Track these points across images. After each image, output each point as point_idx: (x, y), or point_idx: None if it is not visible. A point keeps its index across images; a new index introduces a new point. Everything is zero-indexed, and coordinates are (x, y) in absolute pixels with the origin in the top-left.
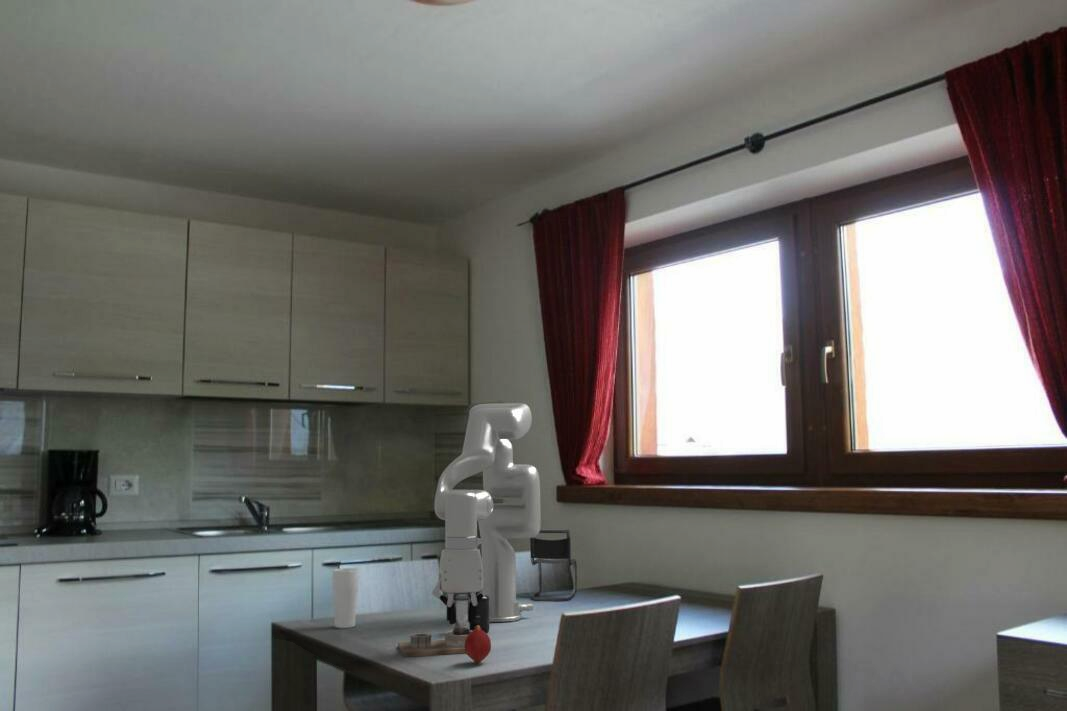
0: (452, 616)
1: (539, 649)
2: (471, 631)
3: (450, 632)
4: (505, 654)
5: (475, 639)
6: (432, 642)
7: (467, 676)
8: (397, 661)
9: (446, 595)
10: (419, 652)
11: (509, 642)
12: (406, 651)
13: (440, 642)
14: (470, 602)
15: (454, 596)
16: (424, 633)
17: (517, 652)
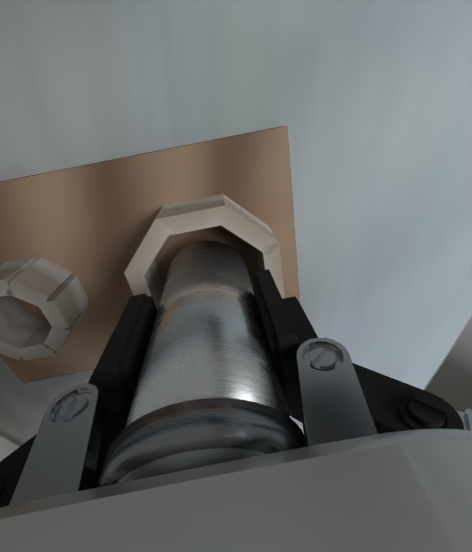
0: None
1: (465, 294)
2: (260, 250)
3: (152, 260)
4: None
5: None
6: (70, 222)
7: None
8: (32, 412)
9: (19, 500)
10: (73, 371)
11: (423, 151)
12: (22, 371)
13: (111, 227)
14: (294, 398)
15: None
16: (17, 286)
17: (384, 328)
